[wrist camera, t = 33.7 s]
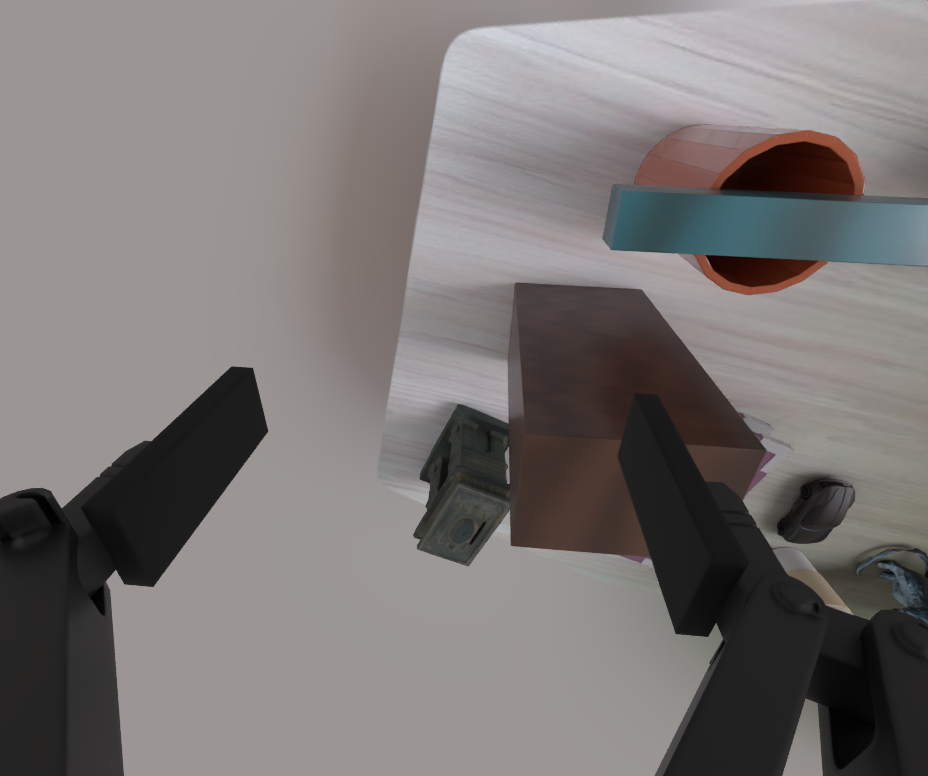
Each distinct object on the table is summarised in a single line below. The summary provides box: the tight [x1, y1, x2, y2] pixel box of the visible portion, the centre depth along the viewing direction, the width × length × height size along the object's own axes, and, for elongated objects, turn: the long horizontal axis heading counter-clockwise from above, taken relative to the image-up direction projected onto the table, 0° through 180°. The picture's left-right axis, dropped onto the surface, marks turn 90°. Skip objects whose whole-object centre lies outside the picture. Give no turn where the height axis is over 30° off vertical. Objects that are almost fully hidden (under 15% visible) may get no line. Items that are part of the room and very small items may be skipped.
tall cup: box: [634, 124, 865, 295], centre depth 37 cm, size 10×10×17 cm
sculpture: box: [857, 548, 928, 624], centre depth 63 cm, size 8×11×15 cm
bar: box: [603, 184, 928, 267], centre depth 29 cm, size 22×4×3 cm, turn 88°
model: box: [413, 404, 510, 566], centre depth 57 cm, size 14×9×15 cm, turn 157°
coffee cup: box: [773, 547, 853, 615], centre depth 64 cm, size 9×9×15 cm
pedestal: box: [508, 283, 767, 557], centre depth 41 cm, size 14×10×28 cm
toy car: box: [777, 479, 855, 544], centre depth 63 cm, size 6×12×4 cm, turn 175°
